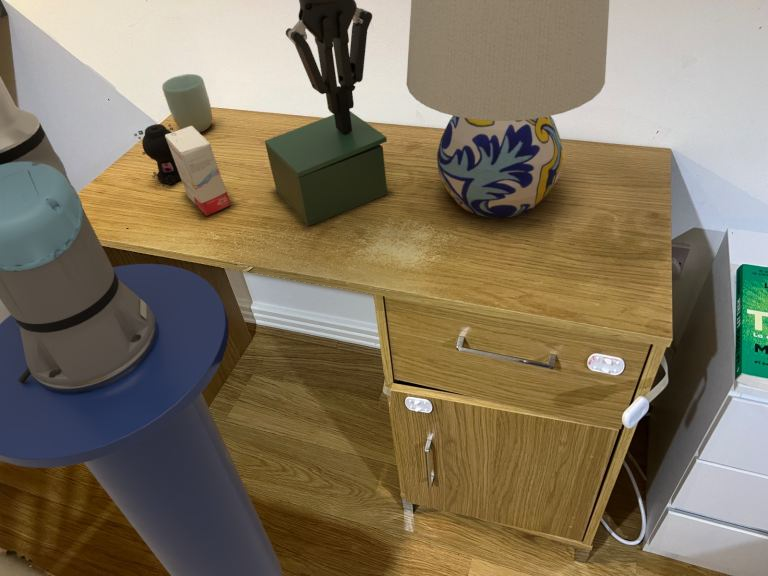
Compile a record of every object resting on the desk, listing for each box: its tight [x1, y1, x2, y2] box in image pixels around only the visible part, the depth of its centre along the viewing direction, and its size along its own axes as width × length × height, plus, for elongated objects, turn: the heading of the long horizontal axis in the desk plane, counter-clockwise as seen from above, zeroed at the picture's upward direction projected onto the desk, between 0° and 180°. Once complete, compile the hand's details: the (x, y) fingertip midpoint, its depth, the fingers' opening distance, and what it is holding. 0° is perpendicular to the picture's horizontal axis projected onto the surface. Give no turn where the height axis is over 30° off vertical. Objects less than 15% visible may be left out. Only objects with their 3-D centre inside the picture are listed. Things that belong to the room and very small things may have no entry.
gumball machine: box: [133, 123, 181, 187], centre depth 104 cm, size 7×6×10 cm
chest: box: [265, 144, 388, 227], centre depth 96 cm, size 15×13×9 cm
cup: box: [161, 73, 213, 134], centre depth 118 cm, size 8×8×10 cm
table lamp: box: [406, 0, 610, 219], centre depth 82 cm, size 27×27×40 cm
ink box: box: [165, 126, 232, 216], centre depth 97 cm, size 9×5×12 cm, turn 35°
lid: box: [264, 110, 388, 177], centre depth 93 cm, size 15×13×1 cm
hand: (344, 129), depth 94 cm, fingers closed
